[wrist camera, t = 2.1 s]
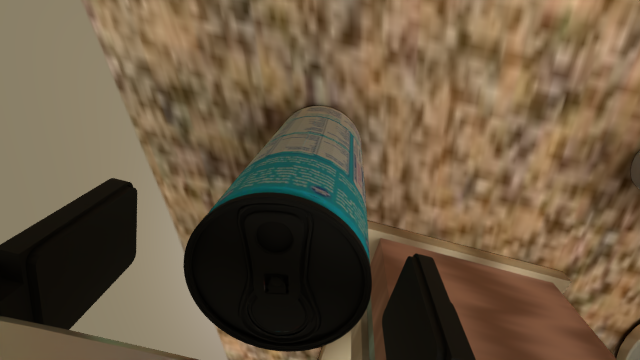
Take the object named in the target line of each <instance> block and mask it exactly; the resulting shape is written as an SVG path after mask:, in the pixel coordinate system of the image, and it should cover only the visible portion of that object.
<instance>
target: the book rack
mask: <svg viewBox="0 0 640 360" xmlns="http://www.w3.org/2000/svg"><path fill="white" fill-rule="evenodd" d="M367 222H368V238H369V254H370V267H371V276H372V291H371V297H370V301H369V304H368V306H367V309H366V311H365V313H364V315H363V316H362V318H361V319H360V321H359V322H358V323H357V324H356V326H355V327H353V328H352V329H351V330H350V331H349V332H348V333H347V334H345V335H344V336H342V337H341V338H339V339H338V340H336V341H334V342H332V343H330V344H327V345H325V346H323V348H322V350H321V353H320V356H319V359H318V360H386V353H385V345H384V337H383V329H382V316H383V313H384V310H385V308H386V306H387V303H388V301H389V299H390V296H391V294H392V292H393V289H394V287H395V285H396V282H397V280H398V278H399V275H400V273H401V271H402V269H403V266H404V264H405V262H406V259H407V257H408V256H412V257H413V255H414V254H416V253H417V254H421V255H425V256H429V257H432V258H433V259H434V261H435V264H436V266H437V269H438V271H439V274H440V276H441V279H442V281H443V284H444V286H445V289H446V291H447V294H448V296H449V299H450V301H451V303H452V304H453V305H454V307H455V309H456V312H457V314H458V317H459V319H460V322H461V324H462V327H463V329H464V332H465V334H466V337H467V339H468V341H469V344H470V346H471V349H472V351H473V354H474V356H475V359H476V360H617V359H616V358H615V357H614V356H613V355H612V353H611V352H610V351H609V350H608V349H607V347H606V346H605V345H604V344H603V343H602V341H601V340H600V339H599V338H598V337H597V335H596V334H595V333H594V332H593V330H592V329H591V328H590V327H589V326H588V324H587V323H586V322H585V321H584V320H583V318H582V317H581V316H580V315H579V314H578V312H577V311H576V310H575V309H574V308H573V306H572V305H571V304H570V303H569V302H568V300H567V299H566V298H565V297H564V295H563V294H564V292H565V291H566V289H567V288H568V286H569V285H570V283H571V280H570V279H569V278H568V277H567V276H566V275H565V274H564V273H563V272H562V271H558V270H554V269H550V268H547V267H543V266H539V265H535V264H531V263H527V262H524V261H520V260H516V259H512V258H508V257H505V256H501V255H497V254H493V253H489V252H485V251H482V250H478V249H474V248H470V247H466V246H463V245H459V244H455V243H451V242H447V241H443V240H440V239H436V238H432V237H428V236H424V235H420V234H417V233H413V232H409V231H405V230H401V229H398V228H394V227H390V226H386V225H382V224H378V223H375V222H371V221H367Z"/></svg>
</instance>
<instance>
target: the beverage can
mask: <svg viewBox="0 0 640 360" xmlns="http://www.w3.org/2000/svg"><path fill="white" fill-rule="evenodd" d="M184 274H185V279H186V283H187V286H188V289H189V291H190V293H191V296H192V297H193V299H194V301H195V303H196V304H197V306H198V307H199V309H200V310H201V311H202V312H203V313H204V315H205V316H206V317H207V318H208V319H209V320H210V321H211V322H212V323H214V324H215V325H216V326H217V327H218V328H220V329H221V330H222V331H224V332H226V333H227V334H229V335H230V336H232V337H234V338H236V339H238V340H240V341H242V342H244V343H247V344H250V345H253V346H256V347H259V348H263V349H268V350H275V351H304V350H310V349H315V348H319V347H322V346H325V345H327V344H330V343H332V342H334V341H336V340H338V339H339V338H341V337H342V336H344V335H345V334H347V333H348V332H349V331H350V330H351V329H352V328H353V327H355V326H356V324H357V323H358V322H359V321H360V319H361V318H362V316H363V315H364V313H365V311H366V309H367V306H368V304H369V301H370V297H371V291H372V276H371V267H370V254H369V238H368V222H367V209H366V196H365V183H364V172H363V160H362V147H361V139H360V135H359V132H358V130H357V128H356V127H355V125H354V123H353V122H352V121H351V120H350V119H349V118H348V117H347V116H346V115H344V114H343V113H342V112H340V111H338V110H335V109H333V108H330V107H325V106H311V107H307V108H303V109H301V110H299V111H297V112H295V113H294V114H293V115H292V116H290V117H289V118H288V119H287V120H286V122H285V123H284V124H283V125H282V126H281V128H280V129H279V130H278V131H277V132H276V133H275V135H274V136H273V137H272V138H271V139H270V140H269V141H268V143H267V144H266V145H265V146H264V147H263V148H262V150H261V151H260V152H259V153H258V154H257V155H256V156H255V158H254V159H253V160H252V161H251V162H250V164H249V165H248V166H247V167H246V168H245V170H244V171H243V172H242V173H241V174H240V175H239V177H238V178H237V179H236V180H235V181H234V183H233V184H232V185H231V186H230V187H229V189H228V190H227V191H226V192H225V193H224V195H223V196H222V197H221V198H220V199H219V201H218V202H217V203H216V204H215V206H214V207H213V208H212V209H211V211H210V212H209V213H208V214H207V215H206V216H205V217H204V218H203V220H202V221H201V222H200V223H199V224H198V226H197V227H196V228H195V229H194V231H193V233H192V234H191V236H190V238H189V241H188V243H187V246H186V249H185V254H184Z"/></svg>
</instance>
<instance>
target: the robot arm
mask: <svg viewBox="0 0 640 360" xmlns="http://www.w3.org/2000/svg"><path fill="white" fill-rule="evenodd" d="M136 228H137V190H136V188H133V185H132V183H130V182H126V181H122V180H118V179H115V178H111V179H109V180H107V181H106V182H104V183H102V184H101V185H99V186H97V187H96V188H94V189H92V190H91V191H89V192H88V193H86V194H84V195H82V196H81V197H79V198H77V199H76V200H74V201H72V202H71V203H69V204H67V205H66V206H64V207H62V208H61V209H59V210H57V211H56V212H54V213H52V214H51V215H49V216H47V217H46V218H44V219H42V220H41V221H39V222H37V223H36V224H34V225H33V226H31V227H29V228H28V229H26V230H24V231H23V232H21V233H19V234H18V235H16V236H14V237H12V238H11V239H9V240H7V241H6V242H4V243H2V244H1V245H0V360H198V359H193V358H189V357H185V356H180V355H176V354H172V353H168V352H163V351H159V350H155V349H150V348H146V347H141V346H137V345H132V344H128V343H124V342H119V341H115V340H111V339H105V338H102V337H97V336H93V335H88V334H84V333H80V332H75V331H71V330H69V329H70V328H71V327H72V326H73V325H74V324H75V323H76V322H77V321H78V319H80V318H81V317H82V316H83V315H84V313H85V312H86V311H87V310H88V309H89V308H90V307H91V306H92V305H93V304H94V303H95V302H96V301H97V300H98V299H99V298H100V296H101V295H102V294H103V293H104V292H105V291H106V290H107V289H108V288H109V287H110V286H111V285H112V284H113V283H114V282H115V281H116V280H117V279H118V277H119V276H120V275H121V274H122V273H123V272H124V271H125V270H126V269H127V268H128V267H129V266H130V265H131V264H132V262H133V260H134V258H135V255H136ZM382 329H383V337H384V345H385V353H386V360H476V359H475V356H474V354H473V351H472V349H471V346H470V344H469V341H468V339H467V337H466V334H465V332H464V329H463V327H462V324H461V322H460V319H459V317H458V314H457V312H456V309H455V307H454V305H453V304H452V303H451V301H450V299H449V296H448V294H447V291H446V289H445V286H444V284H443V281H442V279H441V276H440V274H439V271H438V269H437V266H436V264H435V261H434V259H433V258H432V257H429V256H425V255H421V254H417V253H416V254H414V255H413V257H412V256H408V257H407V259H406V262H405V264H404V266H403V269H402V271H401V273H400V275H399V278H398V280H397V282H396V285H395V287H394V289H393V292H392V294H391V296H390V299H389V301H388V303H387V306H386V308H385V310H384V313H383V316H382ZM616 359H617V360H640V324H639V325H637V326H636V327H635V328H634V329H633V330H632V331H631V332H630V334H629V335H628V336H627V337H626V338H625V340H624V342H623V343H622V345H621V346H620V349H619V352H618V355H617V358H616Z"/></svg>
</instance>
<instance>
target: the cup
mask: <svg viewBox="0 0 640 360" xmlns="http://www.w3.org/2000/svg"><path fill="white" fill-rule="evenodd" d="M631 178H632V181H633V183H634V184H635V186H636V187H637V188H638V189H640V151H639V152H638V153H637V154H636V156H635V158H634V160H633V162H632V166H631Z"/></svg>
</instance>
